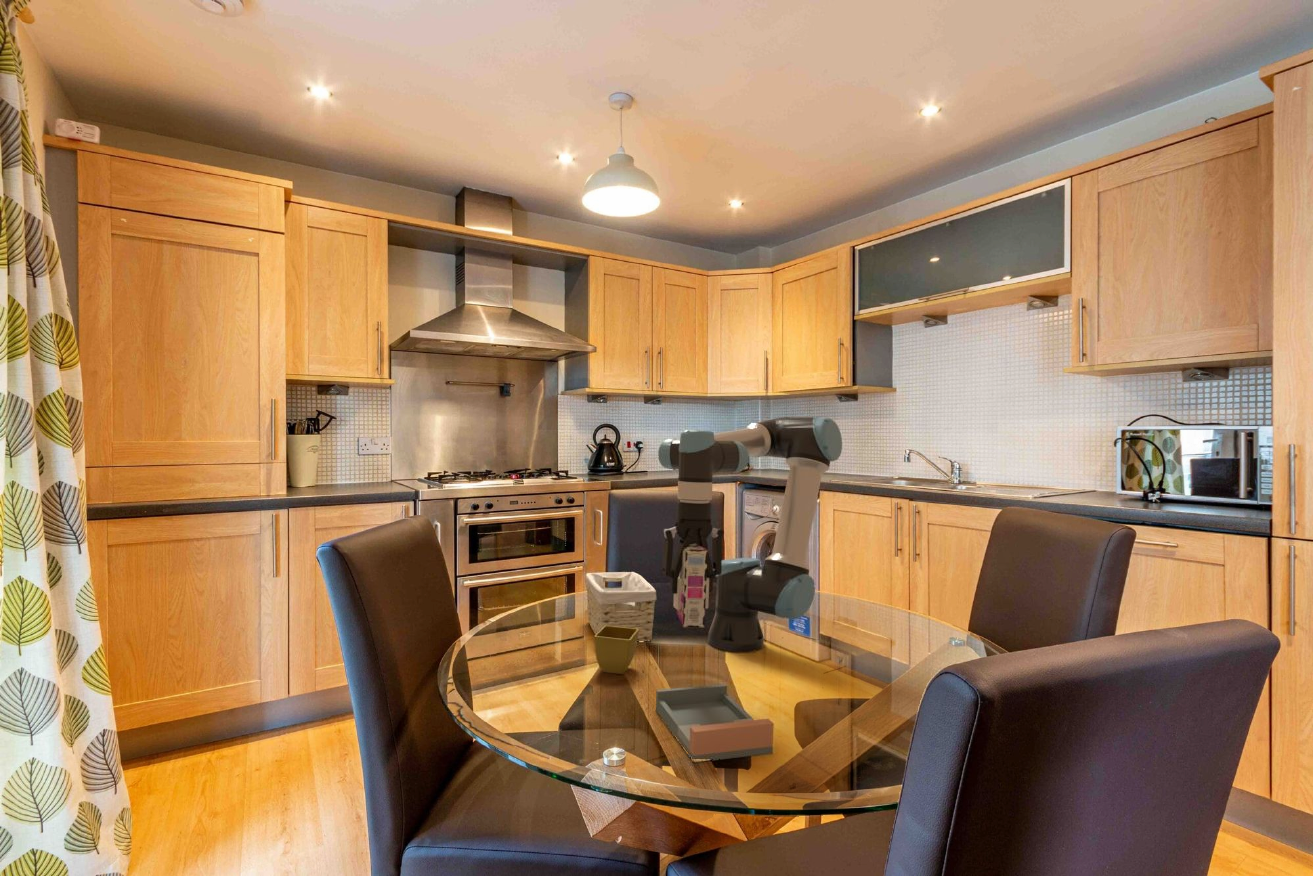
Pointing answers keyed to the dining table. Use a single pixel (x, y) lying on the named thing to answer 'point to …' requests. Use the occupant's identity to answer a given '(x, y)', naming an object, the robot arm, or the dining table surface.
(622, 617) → the storage basket
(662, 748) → the dining table surface
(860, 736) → the dining table surface
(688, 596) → the candy bar box
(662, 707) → the gray drawer tray
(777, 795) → the dining table surface
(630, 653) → the flower pot
